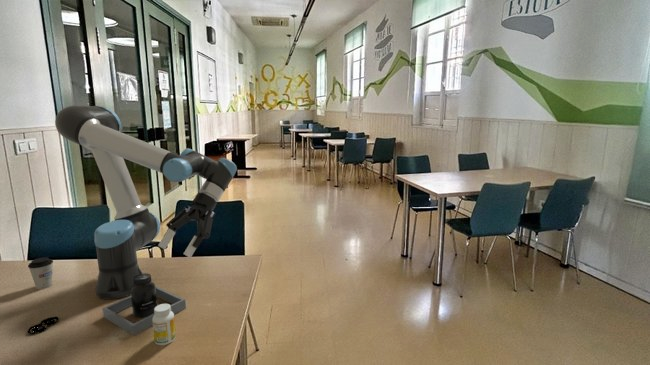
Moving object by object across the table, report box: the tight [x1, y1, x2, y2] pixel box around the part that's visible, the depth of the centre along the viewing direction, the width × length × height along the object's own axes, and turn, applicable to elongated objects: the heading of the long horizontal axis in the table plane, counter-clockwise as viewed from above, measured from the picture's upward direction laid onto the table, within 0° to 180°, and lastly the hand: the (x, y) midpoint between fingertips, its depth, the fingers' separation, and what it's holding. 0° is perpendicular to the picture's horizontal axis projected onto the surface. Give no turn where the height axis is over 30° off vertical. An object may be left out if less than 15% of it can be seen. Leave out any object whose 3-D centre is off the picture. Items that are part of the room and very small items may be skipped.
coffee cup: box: [27, 256, 54, 290], centre depth 123 cm, size 7×7×10 cm
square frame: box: [102, 286, 187, 336], centre depth 107 cm, size 17×17×3 cm
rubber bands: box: [27, 316, 59, 335], centre depth 101 cm, size 5×8×1 cm, turn 167°
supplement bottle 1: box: [130, 272, 158, 319], centre depth 106 cm, size 7×7×12 cm
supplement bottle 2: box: [152, 303, 177, 346], centre depth 94 cm, size 5×5×10 cm
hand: (173, 251), depth 113 cm, fingers open, 13 cm apart
